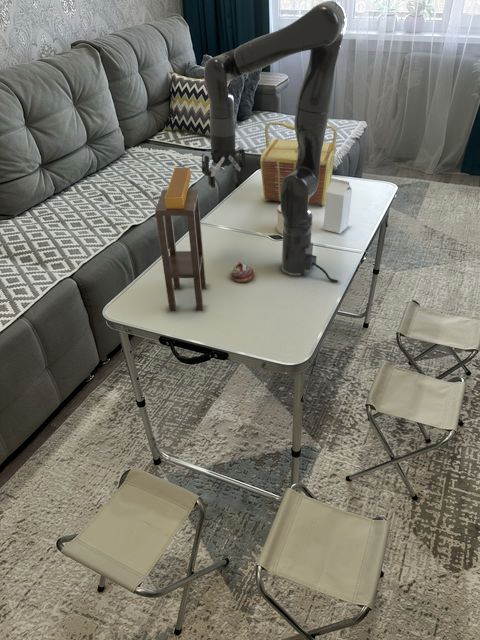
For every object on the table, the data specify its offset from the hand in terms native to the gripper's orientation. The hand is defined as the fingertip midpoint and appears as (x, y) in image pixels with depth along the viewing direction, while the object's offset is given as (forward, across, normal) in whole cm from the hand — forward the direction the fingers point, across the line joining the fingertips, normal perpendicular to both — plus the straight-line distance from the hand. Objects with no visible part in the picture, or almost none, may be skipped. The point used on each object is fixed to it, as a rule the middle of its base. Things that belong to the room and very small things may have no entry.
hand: (224, 184), depth 162 cm
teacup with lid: (+26, +31, +6) cm, 41 cm away
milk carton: (+26, +46, -3) cm, 53 cm away
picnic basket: (+26, +51, +30) cm, 64 cm away
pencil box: (-6, -21, -12) cm, 25 cm away
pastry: (+26, -2, -15) cm, 30 cm away
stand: (+26, -23, -17) cm, 38 cm away
